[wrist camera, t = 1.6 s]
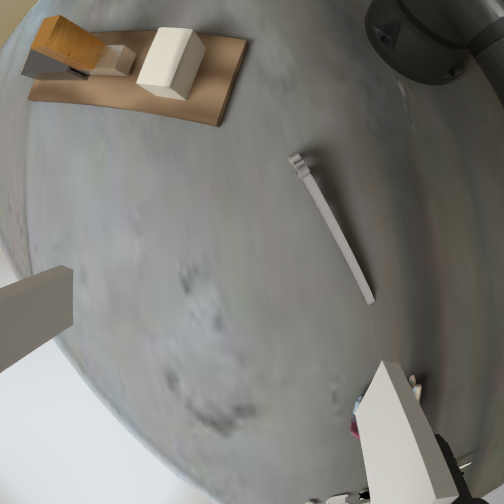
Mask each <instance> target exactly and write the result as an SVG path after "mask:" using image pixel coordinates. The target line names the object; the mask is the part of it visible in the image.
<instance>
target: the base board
mask: <svg viewBox="0 0 504 504" xmlns="http://www.w3.org/2000/svg"><path fill="white" fill-rule="evenodd" d="M157 32H158V31H117V32H99V33H90V34H91V35H93V36H94V37H96V38H97V39H99V40H100V41H102V42H103V43H105V44H104V45H125V46H126V47H127V48H129V49H130V50H131V51H133V52H134V53H135V54H136V57H135V59H134V61H133V64H132V66H131V69H130V71H129V74H128V76H114V75H89V76H88V79H87V81H76V80H47V81H40V80H37V79H35V80H34V82H33V85H32V88H31V91H30V94H29V97H28V100H31V101H42V102H59V103H72V104H83V105H93V106H102V107H110V108H118V109H125V110H132V111H139V112H145V113H151V114H157V115H162V116H168V117H173V118H178V119H183V120H188V121H193V122H198V123H202V124H207V125H211V126H216V127H219V126H220V123H221V120H222V117H223V114H224V111H225V108H226V105H227V102H228V99H229V96H230V93H231V90H232V88H233V85H234V82H235V79H236V76H237V74H238V71H239V68H240V65H241V63H242V60H243V57H244V55H245V52H246V49H247V47H248V43H247V40H243V39H237V38H230V37H223V36H215V35H206V34H197V35H198V37H199V38H200V40H201V41H202V43H203V44H204V46H205V47H206V51H205V53H204V56H203V58H202V61H201V63H200V66H199V68H198V71H197V74H196V76H195V79H194V82H193V84H192V87H191V90H190V93H189V96H188V98H187V101H185V100H179V99H173V98H167V97H160V96H155V95H154V94H152V93H151V92H149V91H148V90H146V89H144V88H143V87H141V86H140V85H138V84H136V82H137V79H138V77H139V74H140V71H141V69H142V66H143V64H144V61H145V59H146V57H147V54H148V52H149V49H150V47H151V45H152V43H153V40H154V38H155V36H156V34H157Z"/></svg>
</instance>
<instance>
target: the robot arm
mask: <svg viewBox="0 0 504 504" xmlns="http://www.w3.org/2000/svg"><path fill="white" fill-rule="evenodd" d="M365 27H366V32H367V35H368V38H369V40H370V42H371V44H372V46H373V47H374V49H375V50H376V52H377V53H378V54H379V55H380V56H381V58H382V59H383V60H384V61H385V62H386V63H387V64H388V65H390V66H391V67H392V68H393V69H395V70H396V71H397V72H399V73H400V74H402V75H404V76H406V77H407V78H409V79H412V80H414V81H417V82H420V83H423V84H428V85H442V84H446V83H449V82H451V81H452V80H454V79H455V78H457V77H458V76H459V75H461V74H462V73H463V71H464V70H465V69H466V67H467V64H468V62H469V59H470V57H471V54H472V55H473V57H474V58H475V60H476V61H477V63H478V64H479V66H480V67H481V69H482V71H483V72H484V74H485V75H486V77H487V79H488V80H489V82H490V84H491V86H492V87H493V89H494V91H495V93H496V95H497V96H498V98H499V100H500V102H501V104H502V106H503V108H504V0H373V1H372V3H371V4H370V6H369V9H368V11H367V14H366V18H365ZM72 325H73V270H72V269H70V268H67V267H65V266H63V265H60V266H57V267H55V268H52V269H49V270H46V271H44V272H41V273H38V274H36V275H33V276H31V277H28V278H25V279H23V280H20V281H18V282H15V283H13V284H10V285H7V286H5V287H2V288H0V373H1V372H2V371H4V370H5V369H7V368H8V367H9V366H11V365H13V364H14V363H16V362H17V361H18V360H20V359H21V358H23V357H25V356H26V355H28V354H29V353H31V352H32V351H33V350H35V349H36V348H38V347H39V346H41V345H42V344H44V343H46V342H47V341H49V340H50V339H52V338H53V337H55V336H56V335H58V334H59V333H61V332H62V331H64V330H66V329H67V328H69V327H70V326H72ZM355 416H356V421H357V426H358V430H359V436H360V441H361V446H362V451H363V457H364V462H365V468H366V474H367V480H368V486H369V492H370V499H371V504H489V503H487V502H486V501H485V500H483V499H480V498H472V496H471V494H470V492H469V489H468V487H467V484H466V482H465V480H464V477H463V475H462V473H461V471H460V468H459V466H457V462H456V460H455V457H453V453H452V451H451V449H450V447H449V445H448V443H447V442H446V441H445V440H444V439H443V438H442V437H441V436H440V435H439V434H433V432H432V430H431V428H430V425H429V423H428V421H427V419H426V417H425V415H424V413H423V411H422V409H421V407H420V404H419V402H418V400H417V398H416V396H415V394H414V392H413V390H412V388H411V386H410V384H409V382H408V381H407V379H406V377H405V375H404V373H403V371H402V369H401V367H400V365H399V364H398V363H393V362H387V361H382V362H381V364H380V366H379V368H378V370H377V372H376V374H375V376H374V378H373V380H372V382H371V384H370V386H369V388H368V390H367V392H366V394H365V396H364V397H363V399H362V401H361V403H360V405H359V407H358V408H357V410H356V412H355Z"/></svg>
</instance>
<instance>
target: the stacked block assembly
mask: <svg viewBox="0 0 504 504" xmlns="http://www.w3.org/2000/svg"><path fill="white" fill-rule="evenodd" d="M104 44H105V43H103V42H102V41H100V40H99V39H97V38H96V37H94V36H93V35H91V34H90V33H88V32H87V31H85V30H84V29H82V28H80V27H79V26H77V25H76V24H74V23H73V22H71V21H69V20H68V19H66V18H64V17H63V16H61V15H58V16H53V17H49V18H45V19H44V21H43V23H42V24H41V26H40V29H39V31H38V33H37V35H36V37H35V39H34V41H33V43H32V46H31V48H30V49H33V50H35V51H37V52H40V53H42V54H44V55H47V56H49V57H51V58H53V59H56V60H58V61H60V62H62V63H65V64H67V65H69V66H71V68H70V70H72V71H75V72H77V73H79V74H88V75H114V76H128V74H129V71H130V69H131V66H132V64H133V61H134V59H135V57H136V54H135V53H134V52H133V51H131V50H130V49H129V48H127V47H126V46H125V45H104ZM28 55H29V53H27V54H26V57H25V59H24V62H23V64H22V67H21V69H20V72H22V70H23V67H24V65H25V62H26V60H27V57H28Z"/></svg>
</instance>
